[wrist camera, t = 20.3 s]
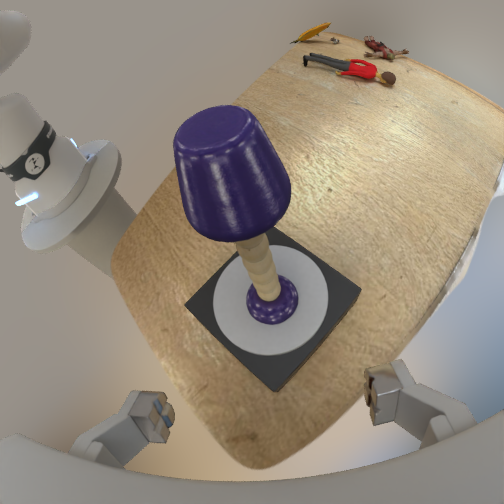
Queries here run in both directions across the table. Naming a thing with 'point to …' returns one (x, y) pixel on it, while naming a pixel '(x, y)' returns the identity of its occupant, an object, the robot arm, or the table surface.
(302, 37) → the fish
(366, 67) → the person figure
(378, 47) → the figurine
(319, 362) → the table surface
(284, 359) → the kitchen scale
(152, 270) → the table surface
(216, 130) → the toy lamp
